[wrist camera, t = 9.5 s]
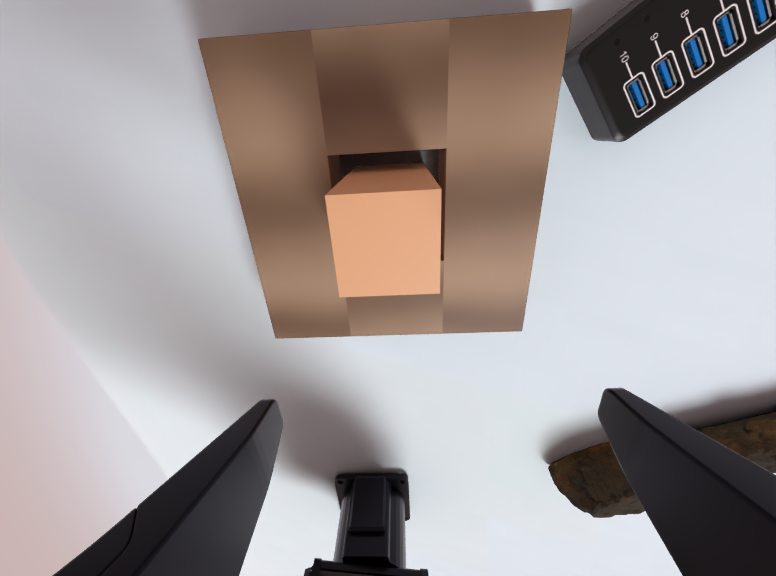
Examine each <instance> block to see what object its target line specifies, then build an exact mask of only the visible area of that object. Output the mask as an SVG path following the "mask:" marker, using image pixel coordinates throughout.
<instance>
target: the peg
mask: <svg viewBox="0 0 776 576" xmlns="http://www.w3.org/2000/svg"><path fill="white" fill-rule="evenodd" d="M325 201H326V208H327V215H328V222H329V228H330V235H331V242H332V249H333V256H334V263H335V270H336V277H337V284H338V291H339V297H364V296H390V295H416V294H440V256H441V188H440V186H439V185H438V183H437V182H436V180H435V179H434V177H433V176H432V174H431V173H430V171H429V170H428V169H427V167H426V166H425V164H424V163H409V164H393V165H376V166H359V167H355V168H354V169H353V170H352V171H351V172H349V173H348V174H347V175H346V176H345V177H344V178H343V179H342V180H341V181H340V182H339V183H338V184H337V185H335V186H334V187H333V188H332V189H331V190H330V191H329V192H328V193H327V194H326V195H325Z"/></svg>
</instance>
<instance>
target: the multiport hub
mask: <svg viewBox="0 0 776 576" xmlns="http://www.w3.org/2000/svg"><path fill="white" fill-rule="evenodd" d="M775 38H776V0H633V1H632V2H631V3H630V4H628V5H627V6H626V7H625V8H623V9H622V10H621V11H620V12H619V13H617V14H616V15H615V16H614V17H612V18H611V19H610V20H609V21H607V22H606V23H605V24H604V25H602V26H601V27H600V28H599V29H597V30H596V31H595V32H594V33H593V34H591V35H590V36H589V37H588V38H586V39H585V40H584V41H583V42H581V43H580V44H579V45H578V46H576V47H575V48H574V49H573V50H572V51H570V52H569V53H568V54H567V55H565V59H564V65H563V72H562V76H563V78H564V80H565V82H566V84H567V86H568V89H569V91H570V93H571V95H572V97H573V99H574V101H575V103H576V105H577V107H578V109H579V112H580V114H581V116H582V118H583V120H584V122H585V124H586V126H587V129H588V131H589V133H590V135H591V137H592V138H593V139H594V140H598V141H614V142H622V141H625V140H627V139H629V138H630V137H631V136H633V135H634V134H636V133H637V132H639V131H640V130H642V129H643V128H645V127H646V126H648V125H649V124H651V123H652V122H653V121H655V120H656V119H658V118H659V117H661V116H662V115H664V114H665V113H667V112H668V111H670V110H671V109H673V108H674V107H675V106H677V105H678V104H680V103H681V102H683V101H684V100H686V99H687V98H689V97H690V96H692V95H693V94H694V93H696V92H697V91H699V90H700V89H702V88H703V87H705V86H706V85H708V84H709V83H711V82H712V81H714V80H715V79H716V78H718V77H719V76H721V75H722V74H724V73H725V72H727V71H728V70H730V69H731V68H733V67H734V66H736V65H737V64H738V63H740V62H741V61H743V60H744V59H746V58H747V57H749V56H750V55H752V54H753V53H755V52H756V51H757V50H759V49H760V48H762V47H763V46H765V45H766V44H768V43H769V42H771V41H772V40H774V39H775Z"/></svg>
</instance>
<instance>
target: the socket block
mask: <svg viewBox="0 0 776 576" xmlns="http://www.w3.org/2000/svg"><path fill="white" fill-rule="evenodd" d="M571 14H572V9H562V10H549V11H537V12H525V13H512V14H500V15H487V16H475V17H463V18H450V19H438V20H425V21H413V22H401V23H388V24H376V25H363V26H351V27H339V28H326V29H314V30H301V31H289V32H277V33H264V34H252V35H240V36H227V37H215V38H202V39H198V42H199V46H200V50H201V53H202V57H203V61H204V65H205V69H206V73H207V76H208V80H209V84H210V88H211V92H212V96H213V100H214V103H215V107H216V111H217V115H218V119H219V123H220V126H221V130H222V134H223V138H224V142H225V146H226V150H227V153H228V157H229V161H230V165H231V169H232V173H233V176H234V180H235V184H236V188H237V192H238V196H239V200H240V203H241V207H242V211H243V215H244V219H245V223H246V226H247V230H248V234H249V238H250V242H251V246H252V250H253V253H254V257H255V261H256V265H257V269H258V273H259V276H260V280H261V284H262V288H263V292H264V296H265V300H266V303H267V307H268V311H269V315H270V319H271V323H272V326H273V330H274V334H275V338H308V337H342V336H375V335H409V334H443V333H476V332H510V331H522V328H523V321H524V315H525V308H526V302H527V296H528V289H529V283H530V276H531V270H532V264H533V257H534V251H535V244H536V238H537V232H538V225H539V219H540V212H541V206H542V200H543V193H544V187H545V180H546V174H547V168H548V161H549V155H550V148H551V142H552V136H553V129H554V123H555V116H556V110H557V104H558V97H559V91H560V84H561V78H562V72H563V65H564V59H565V52H566V46H567V40H568V33H569V27H570V20H571ZM428 149H439V171H438V185H439V186H440V188H441V256H440V294H416V295H390V296H364V297H339V291H338V284H337V277H336V270H335V263H334V256H333V249H332V242H331V235H330V228H329V222H328V215H327V208H326V201H325V195H326V194H327V193H328V192H329V191H330V190H331V189H332V188H333V187H334V186H335V185H337V184H338V183H339V182H340V181H341V180H342V176H341V167H340V159H339V155H344V154H361V153H378V152H394V151H411V150H428Z"/></svg>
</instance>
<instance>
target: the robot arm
mask: <svg viewBox="0 0 776 576" xmlns="http://www.w3.org/2000/svg"><path fill="white" fill-rule="evenodd" d="M598 417H599V420H600V422H601V424H602V427H603V429H604V431H605V433H606V435H607V438H608V440H609V442H610V444H611V446H612V448H613V451H614V453H615V455H616V457H617V459H618V461H619V464H620V466H621V468H622V470H623V472H624V474H625V476H626V478H627V480H628V482H629V483H630V485H631V487H632V489H633V491H634V492H635V494H636V496H637V497H638V499H639V501H640V503H641V504H642V506H643V508H644V510H645V511H646V513H647V515H648V516H649V518H650V520H651V522H652V523H653V525H654V527H655V529H656V530H657V532H658V534H659V535H660V537H661V539H662V541H663V542H664V544H665V546H666V548H667V549H668V551H669V553H670V554H671V556H672V558H673V560H674V561H675V563H676V565H677V567H678V568H679V570H680V572H681V573H682V575H683V576H776V475H775V474H773V473H771V472H769V471H768V470H766V469H764V468H762V467H761V466H759V465H757V464H755V463H754V462H752V461H750V460H748V459H746V458H745V457H743V456H741V455H739V454H738V453H736V452H734V451H732V450H731V449H729V448H727V447H725V446H724V445H722V444H720V443H718V442H717V441H715V440H713V439H711V438H710V437H708V436H706V435H704V434H703V433H701V432H699V431H697V430H696V429H694V428H692V427H690V426H689V425H687V424H685V423H683V422H682V421H680V420H678V419H676V418H675V417H673V416H671V415H669V414H668V413H666V412H664V411H662V410H661V409H659V408H657V407H655V406H654V405H652V404H650V403H648V402H647V401H645V400H643V399H641V398H640V397H638V396H636V395H634V394H632V393H631V392H629V391H627V390H625V389H623V388H607V389H605V390H604V392H603V395H602V398H601V402H600V405H599V409H598ZM282 427H283V420H282V417H281V413H280V410H279V406H278V403H277V401H276V400H274V399H268V400H261V401H259V402H258V403H257V404H255V405H254V406H253V407H252V408H251V409H250V410H248V411H247V412H246V413H245V414H244V415H243V416H241V417H240V418H239V419H238V420H237V421H236V422H235V423H233V424H232V425H231V426H230V427H229V428H228V429H226V430H225V431H224V432H223V433H222V434H221V435H219V436H218V437H217V438H216V439H215V440H214V441H212V442H211V443H210V444H209V445H208V446H207V447H205V448H204V449H203V450H202V451H201V452H200V453H199V454H197V455H196V456H195V457H194V458H193V459H192V460H190V461H189V462H188V463H187V464H186V465H185V466H183V467H182V468H181V469H180V470H179V471H178V472H176V473H175V474H174V475H173V476H172V477H171V478H169V479H168V480H167V481H166V482H165V483H164V484H163V485H161V486H160V487H159V488H158V489H157V490H156V491H154V492H153V493H152V494H151V495H150V496H149V497H147V498H146V499H145V500H144V501H143V502H142V503H140V504H139V505H138V507H137V508H135V509H134V510H132V511H131V512H130V513H129V514H128V515H126V516H125V517H124V518H123V519H122V520H121V521H119V522H118V523H117V524H116V525H115V526H114V527H112V528H111V529H110V530H109V531H107V532H106V533H105V534H104V535H103V536H102V537H100V538H99V539H98V540H97V541H96V542H95V543H93V544H92V545H91V546H90V547H88V548H87V549H86V550H84V551H83V552H82V553H81V554H79V555H78V556H77V557H76V558H74V559H73V560H72V561H71V562H69V563H68V564H67V565H66V566H64V567H63V568H62V569H60V570H59V571H58V572H57V573H55V574H54V575H53V576H239V574H240V571H241V568H242V565H243V562H244V559H245V556H246V553H247V550H248V547H249V544H250V541H251V538H252V535H253V532H254V529H255V526H256V523H257V520H258V517H259V514H260V511H261V508H262V505H263V502H264V499H265V496H266V493H267V490H268V487H269V484H270V480H271V476H272V472H273V467H274V463H275V459H276V454H277V450H278V445H279V441H280V437H281V432H282ZM335 486H336V490H337V495H338V500H339V504H340V509H341V513H340V520H339V526H338V533H337V540H336V546H335V553H334V559H333V561H324V560H322V559H319V558H315V560H314V564H313V566H312V567H310V568H308V569H305V573H304V576H428V570H427V569H420V570H415V569H406V547H405V521H407V520H409V519H410V507H409V485H408V476H407V475H405V474H339V475H337V476H336V478H335Z"/></svg>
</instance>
